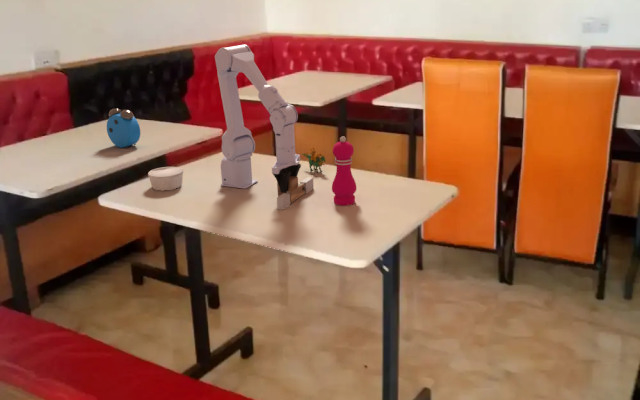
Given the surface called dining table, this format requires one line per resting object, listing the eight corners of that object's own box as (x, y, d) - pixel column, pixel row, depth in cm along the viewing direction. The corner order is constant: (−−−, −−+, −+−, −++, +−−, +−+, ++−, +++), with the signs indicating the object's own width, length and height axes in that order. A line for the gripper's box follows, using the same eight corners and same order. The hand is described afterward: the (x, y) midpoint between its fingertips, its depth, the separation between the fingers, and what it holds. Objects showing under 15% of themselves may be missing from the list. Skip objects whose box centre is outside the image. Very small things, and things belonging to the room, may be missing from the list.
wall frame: (277, 209, 196) (276, 196, 194) (307, 187, 213) (307, 176, 211) (283, 209, 195) (282, 197, 194) (313, 188, 212) (313, 176, 211)
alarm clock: (142, 146, 267) (138, 109, 262) (131, 150, 262) (125, 112, 257) (120, 142, 274) (115, 106, 268) (108, 146, 269) (102, 109, 264)
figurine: (322, 175, 224) (321, 151, 222) (299, 167, 233) (297, 145, 230) (329, 172, 226) (328, 149, 223) (305, 165, 235) (304, 143, 232)
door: (288, 202, 200) (287, 192, 199) (302, 192, 208) (301, 183, 207) (293, 203, 200) (293, 192, 199) (307, 193, 207) (306, 183, 206)
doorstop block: (278, 197, 205) (276, 179, 203) (284, 193, 208) (283, 175, 206) (292, 199, 203) (291, 180, 201) (298, 195, 206) (297, 176, 204)
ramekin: (172, 179, 226) (170, 164, 225) (191, 186, 219) (190, 170, 217) (143, 187, 219) (141, 172, 217) (161, 194, 212) (159, 179, 210)
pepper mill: (349, 207, 195) (347, 140, 188) (327, 203, 198) (325, 138, 191) (361, 200, 200) (360, 134, 194) (340, 196, 204) (338, 132, 197)
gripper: (285, 154, 192) (288, 199, 197) (308, 141, 205) (310, 183, 209) (264, 152, 195) (267, 196, 200) (287, 139, 207) (289, 181, 212)
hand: (287, 189), depth 205 cm, fingers closed on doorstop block, 4 cm apart
